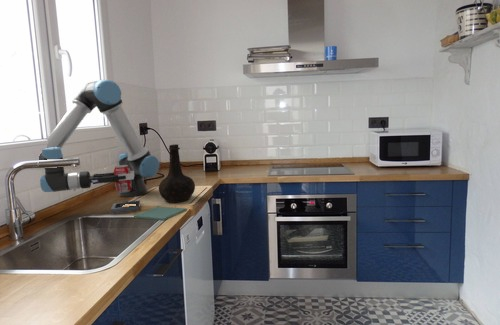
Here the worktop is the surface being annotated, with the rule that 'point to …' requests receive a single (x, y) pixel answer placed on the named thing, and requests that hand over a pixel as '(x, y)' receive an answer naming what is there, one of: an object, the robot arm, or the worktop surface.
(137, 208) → the gray square tray
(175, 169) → the glass bottle
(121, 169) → the soda can
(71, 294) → the worktop surface
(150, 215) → the mat
